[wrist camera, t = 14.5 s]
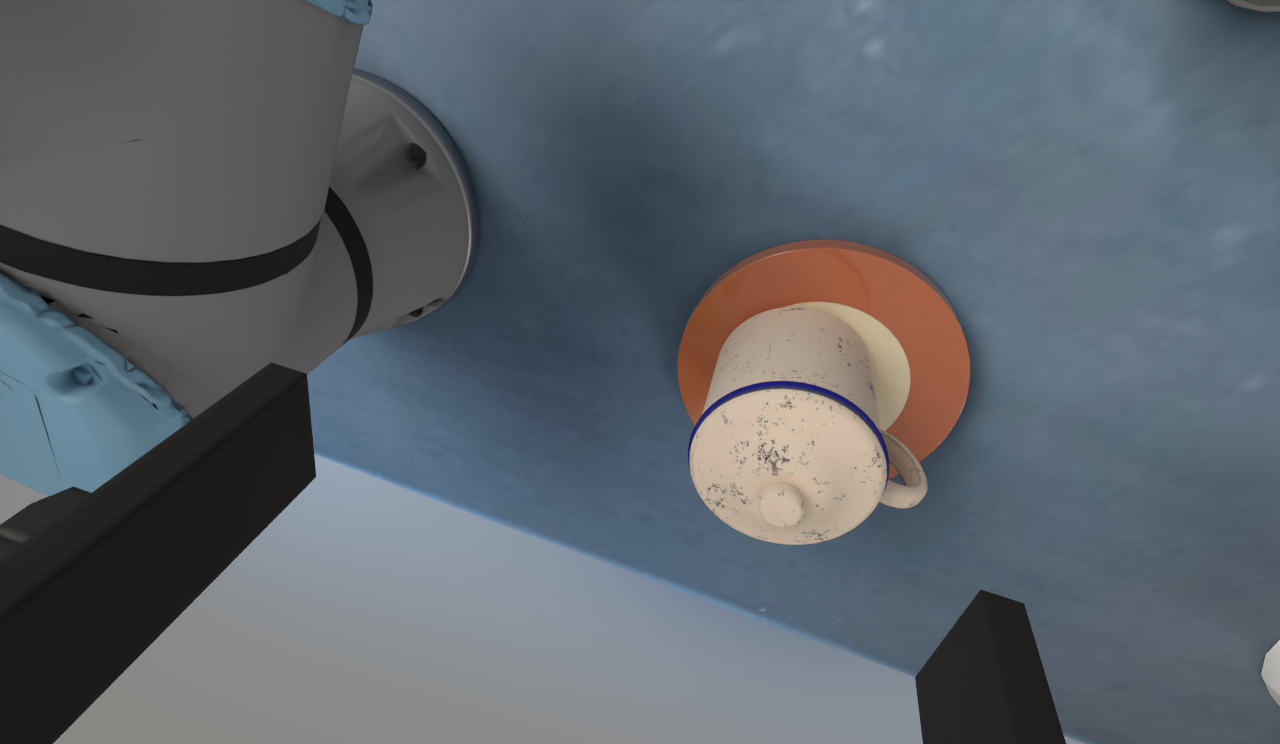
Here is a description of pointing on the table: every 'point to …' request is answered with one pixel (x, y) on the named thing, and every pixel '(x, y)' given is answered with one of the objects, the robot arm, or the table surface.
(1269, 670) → the figurine
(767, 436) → the teacup with lid
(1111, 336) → the table surface
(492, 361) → the table surface
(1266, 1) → the pocket watch
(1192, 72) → the table surface
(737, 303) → the saucer
